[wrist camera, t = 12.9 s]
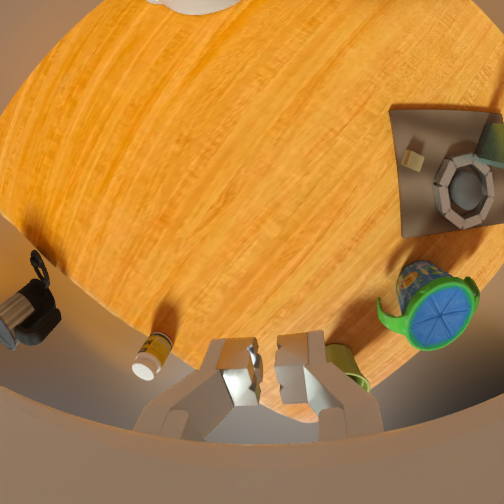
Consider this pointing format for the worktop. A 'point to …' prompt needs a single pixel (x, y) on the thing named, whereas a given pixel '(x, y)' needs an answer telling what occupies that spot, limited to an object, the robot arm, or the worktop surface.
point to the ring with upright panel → (488, 152)
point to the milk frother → (29, 311)
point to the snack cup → (431, 306)
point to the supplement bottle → (152, 355)
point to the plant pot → (346, 363)
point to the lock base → (429, 162)
